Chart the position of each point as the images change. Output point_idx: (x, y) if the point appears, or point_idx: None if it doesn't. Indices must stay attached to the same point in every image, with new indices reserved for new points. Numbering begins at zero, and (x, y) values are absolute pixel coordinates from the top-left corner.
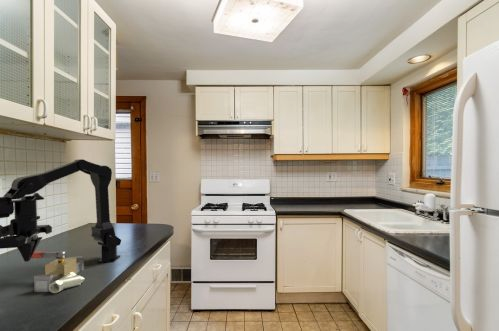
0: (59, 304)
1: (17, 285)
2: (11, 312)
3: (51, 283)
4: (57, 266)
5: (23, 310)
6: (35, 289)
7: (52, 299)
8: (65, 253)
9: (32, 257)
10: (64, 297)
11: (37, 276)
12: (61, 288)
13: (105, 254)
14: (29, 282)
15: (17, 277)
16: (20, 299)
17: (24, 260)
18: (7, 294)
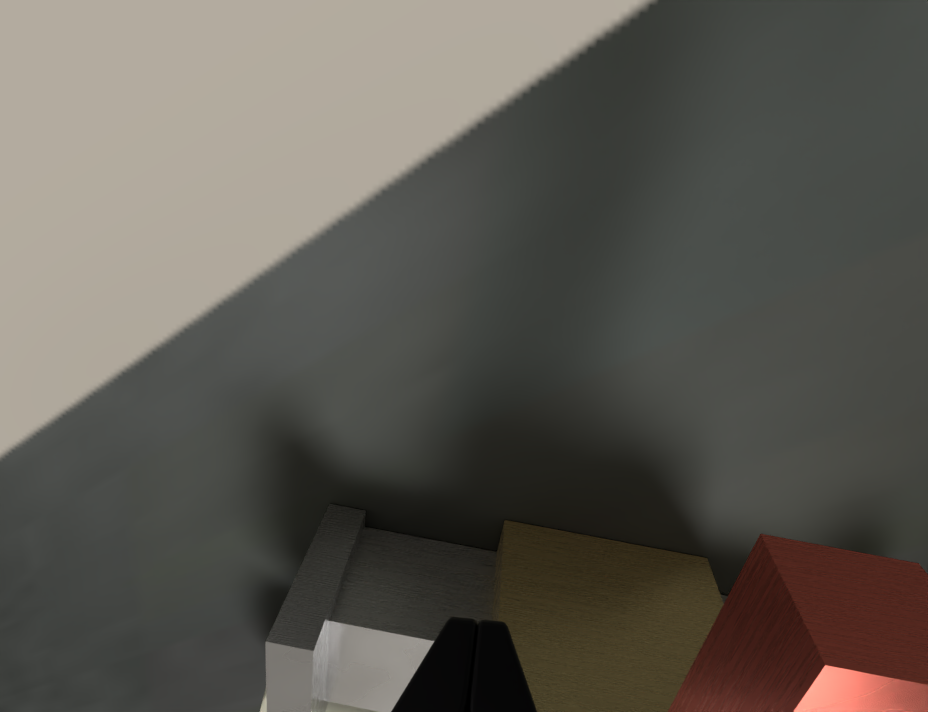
0: (140, 704)
1: (543, 243)
2: (4, 505)
3: (264, 704)
4: None
5: (42, 560)
6: (321, 529)
7: (200, 656)
8: None
9: (713, 653)
10: (229, 704)
11: (268, 665)
12: None
13: None
14: (605, 341)
15: (923, 31)
16: (192, 463)
17: (440, 637)
18: (295, 282)
